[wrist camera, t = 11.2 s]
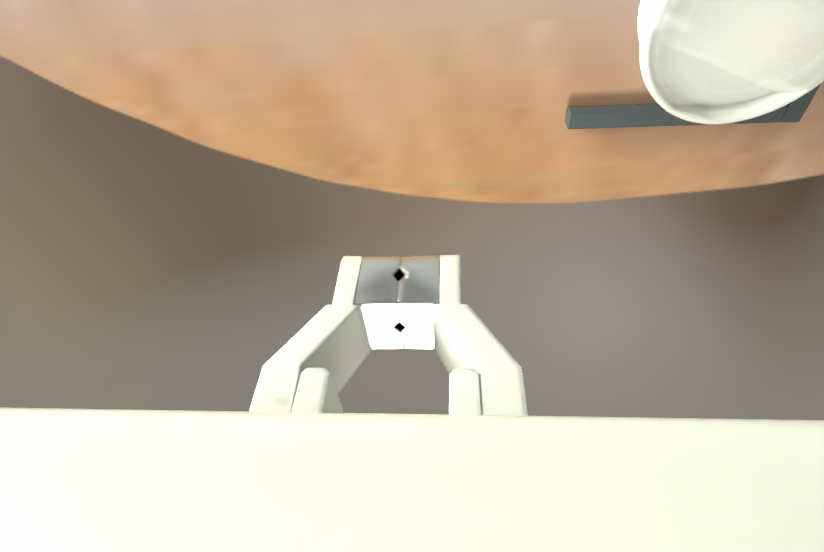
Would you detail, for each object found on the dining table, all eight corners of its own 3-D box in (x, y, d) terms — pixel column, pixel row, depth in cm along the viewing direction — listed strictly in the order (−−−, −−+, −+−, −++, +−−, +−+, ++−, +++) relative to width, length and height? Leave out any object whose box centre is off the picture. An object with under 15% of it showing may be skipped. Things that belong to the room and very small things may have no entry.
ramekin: (617, 102, 33) (638, 144, 29) (622, -94, 25) (652, -70, 21) (805, 60, 30) (854, 100, 26) (878, -175, 22) (962, -163, 19)
